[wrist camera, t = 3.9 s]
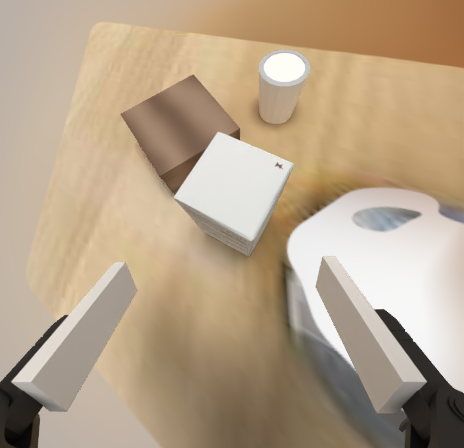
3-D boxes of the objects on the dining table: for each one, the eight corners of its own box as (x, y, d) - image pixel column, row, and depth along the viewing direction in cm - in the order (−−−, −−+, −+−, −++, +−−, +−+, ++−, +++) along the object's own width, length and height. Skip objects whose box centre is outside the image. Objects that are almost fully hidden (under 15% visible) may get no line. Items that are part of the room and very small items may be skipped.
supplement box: (228, 191, 28) (218, 126, 16) (273, 214, 27) (298, 162, 15) (202, 233, 27) (169, 196, 14) (248, 259, 25) (254, 243, 13)
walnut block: (201, 109, 33) (193, 74, 27) (240, 156, 30) (239, 128, 24) (142, 143, 32) (120, 114, 26) (176, 196, 29) (159, 176, 23)
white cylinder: (291, 130, 30) (306, 89, 24) (251, 123, 31) (253, 81, 25) (299, 98, 32) (314, 51, 25) (260, 92, 33) (264, 45, 26)
